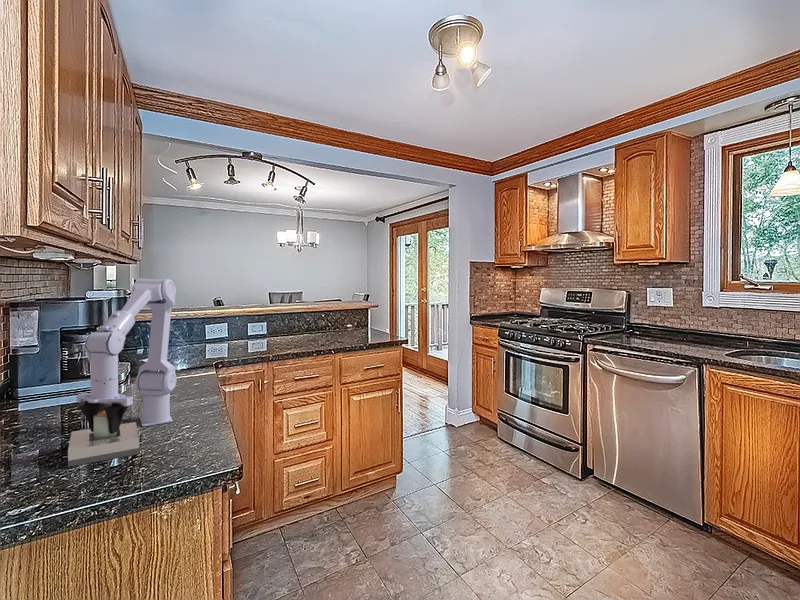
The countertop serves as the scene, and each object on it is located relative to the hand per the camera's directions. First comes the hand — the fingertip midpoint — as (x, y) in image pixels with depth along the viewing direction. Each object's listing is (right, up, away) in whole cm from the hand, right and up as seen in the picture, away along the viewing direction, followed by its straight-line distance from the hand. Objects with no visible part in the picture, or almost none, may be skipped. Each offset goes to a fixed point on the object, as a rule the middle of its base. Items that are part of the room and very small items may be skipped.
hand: (104, 431), depth 105 cm
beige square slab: (0, -5, 0) cm, 5 cm away
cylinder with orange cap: (0, -2, 0) cm, 2 cm away
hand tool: (-20, -4, +30) cm, 36 cm away
